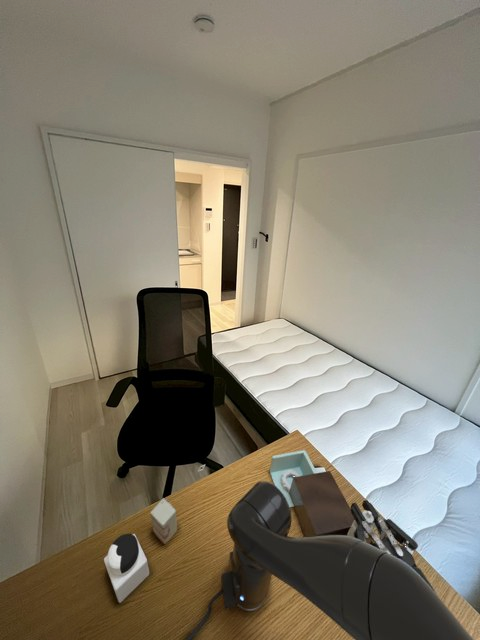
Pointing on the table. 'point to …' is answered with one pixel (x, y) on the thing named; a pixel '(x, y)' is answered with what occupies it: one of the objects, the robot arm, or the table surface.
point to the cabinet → (320, 504)
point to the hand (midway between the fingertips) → (358, 503)
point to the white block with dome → (126, 565)
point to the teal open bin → (290, 470)
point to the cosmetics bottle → (164, 520)
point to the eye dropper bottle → (369, 521)
